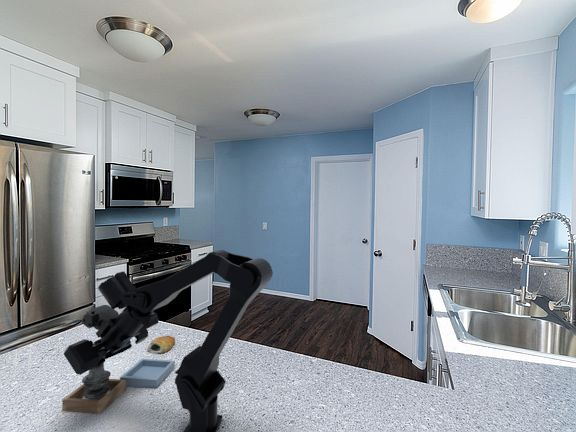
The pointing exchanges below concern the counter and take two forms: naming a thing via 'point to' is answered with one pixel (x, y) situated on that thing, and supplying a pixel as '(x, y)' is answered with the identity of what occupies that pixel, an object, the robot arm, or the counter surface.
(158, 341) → the pastry
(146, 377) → the slate tray
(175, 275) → the robot arm
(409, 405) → the counter surface
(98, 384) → the grey stone chess piece
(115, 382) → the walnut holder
